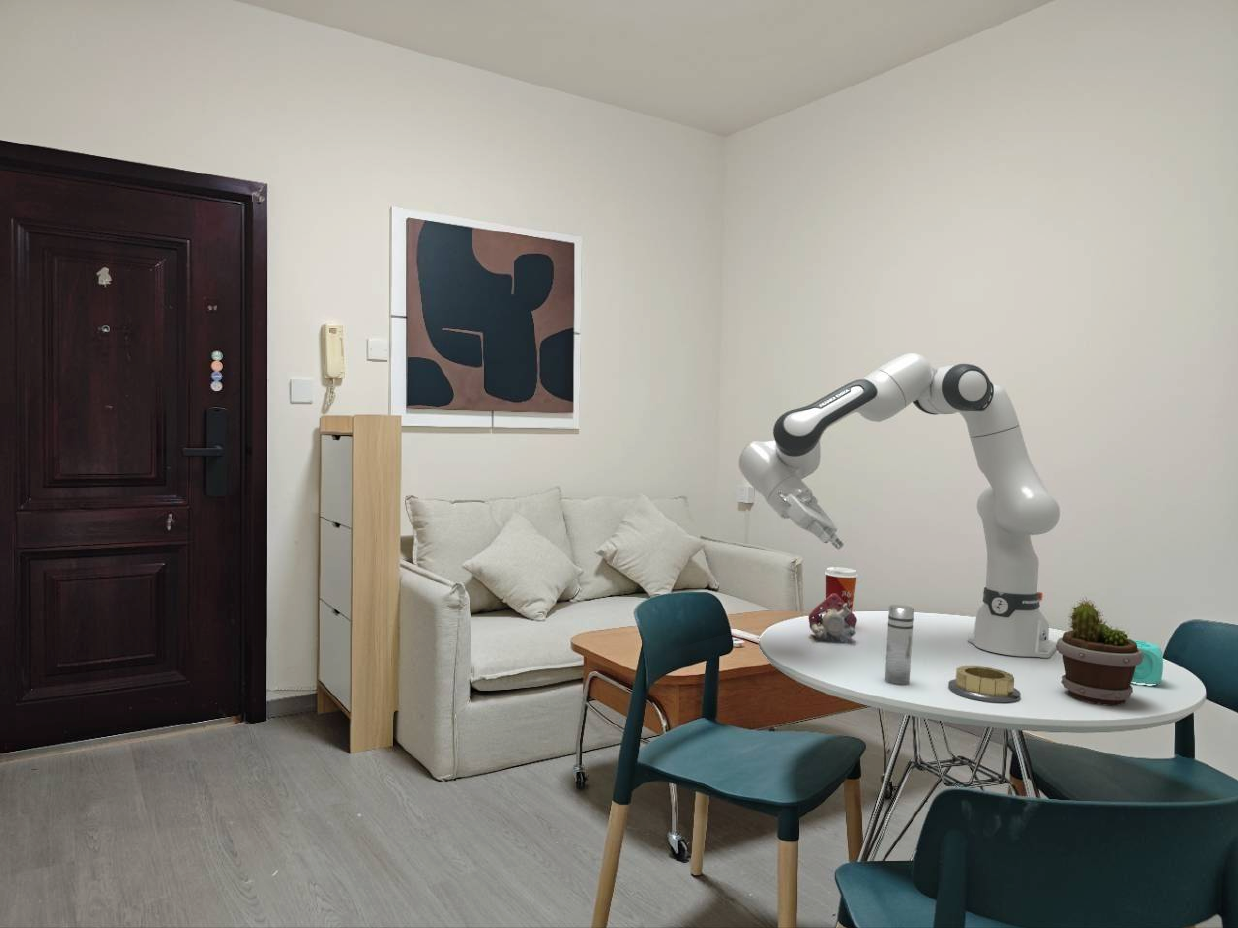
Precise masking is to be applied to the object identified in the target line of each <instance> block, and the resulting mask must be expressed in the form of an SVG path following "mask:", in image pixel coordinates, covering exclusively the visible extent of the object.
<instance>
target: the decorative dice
mask: <svg viewBox="0 0 1238 928" xmlns="http://www.w3.org/2000/svg"><path fill="white" fill-rule="evenodd" d="M1130 639H1131V638H1130ZM1131 640H1133V641H1134V642H1136V644H1137V648H1139V649H1140V650H1141V651H1142V652H1143V655H1144V658H1143V662H1142V663H1141V664H1140V665H1137V666H1136V668H1135V672H1134V676H1133V679H1132V681H1131V682H1136V683H1145V684H1157V683H1158V684H1160V683H1161V680H1162V677H1163V669H1164V658H1163V657H1164V656H1163V652H1162V648H1161V647H1160V646H1159V645H1158V644H1155V643H1153V642H1150V641H1146V640H1140V639H1133V638H1132V639H1131ZM1158 684H1157V685H1158Z"/></svg>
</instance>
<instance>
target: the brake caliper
mask: <svg viewBox="0 0 1238 928" xmlns="http://www.w3.org/2000/svg"><path fill="white" fill-rule="evenodd" d="M833 598H835V599H833ZM826 603H829V604H830V605H829V606H826ZM838 604H841V605H842V606H841V607H838ZM826 611H828V612H827V613H826ZM838 611H839V612H838ZM823 613H825V614H823ZM845 617H846V618H845ZM857 622H858V621H857V617H856V615H855V613H854V612H853V610H852V611H851V610H850V609H849V608H848V607H847V603H844V602H843V601H842V600H841V599H840V597H839V596H838V595H837V594H835V593H833V594H831V595H830V596H829V597H827V598H826V597H825V599H824V600H823V601H822V602H821V603H819V604H818V605H817V606H816V607H814V609H813V610H812V611H811V612H810V613H809V614H808V623H809V625H808V626H809V629H810V630H811V631H812V633H813V634H812V633H811V634H810V635H809V637H808V638H809V639H810V641H811V642H812V643H814V644H816V643H818V640H819V641H820V642H833V643H834V642H838V643H839V642H840V643H848V642H849V641H850V639H852V637H854V636H855V635H856V633H857V632H856V626H857V625H856V624H857ZM817 638H818V639H817Z"/></svg>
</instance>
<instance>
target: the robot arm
mask: <svg viewBox="0 0 1238 928" xmlns="http://www.w3.org/2000/svg"><path fill="white" fill-rule="evenodd" d="M912 403H913V404H914V406H915V407H916V409H918V410H919V411H921V412H923V413H925V414H929V415H934V416H935V415H951V414H957V413H959V414H960V415H961V416H962V417H963V419H964V421H965V423H966V427H967V430H968V434H969V439H970V441H971V446H972V449H973V451H974V452H973V453H974V457H975V460H976V463H977V466H978V469H979V470H980V472H981V473H982V474H983V475H984V477H985V478H986V480H987V482H988V483H989V485H990V487H987V488H985V489H984V490H983V491H982V492H981V493H979V496H978V498H977V500H976V510H977V513H978V515H979V516H980V519H981V521H982V527H983V528H982V529H983V533H984V539H985V546H986V575H985V577H986V578H985V586H984V587H983V591H982V602H983V603H982V605H981V606H980V607H978V608H977V610H976V613H975V614H976V615H975V621H974V627H973V635H970V636H968V637H967V642H969V643H971V644H973V645H974V646H975V647H976V648H978V649H981V650H984V651H987V652H991V653H995V654H1001V655H1005V656H1013V657H1028V658H1029V657H1032V658H1043V659H1049V658H1051V656H1052V655H1053V654H1054V653H1055V652H1056V651H1058V650H1057V647H1056V644H1057V641H1056V642H1055V641H1053V640H1049V634H1050V632H1049V631H1050V625H1049V621H1047V619H1046V617H1045V616H1044V615H1043V614H1042V612H1041V610H1040V609H1039V608H1040V602H1041V601H1042V600H1043V597H1044V595H1043V593H1042V592H1041V591H1038V578H1039V577H1038V576H1039V565H1040V564H1039V563H1040V561H1039V558H1038V555H1037V553H1036V552H1035V549H1034V546H1033V541H1032V536H1038V535H1042V534H1046V533H1049V532H1050V531H1052V530H1054V528H1055V527H1056V526H1057V524H1058V523H1059V520H1060V515H1061V509H1060V506H1059V503H1058V502H1057V499H1055V498H1054V497H1053V495H1051V493H1049V491H1048V490H1047V488H1046V487H1045V485H1044V483H1043V482H1042V480H1041V477H1040V476H1039V474H1038V472H1037V470H1036V469H1035V466H1034V464H1033V463H1032V460H1031V458H1030V455H1029V453H1028V450H1027V447H1026V443H1025V439H1024V436H1023V433H1022V428H1021V425H1020V421H1019V418H1018V416H1017V412H1016V410H1015V407H1014V405H1013V403H1012V401H1011V399H1010V396H1009V394H1008V393H1007V391H1006V389H1005V388H1004V387H1003V386H1001V385H999V384H994V383H993V382H992V381H990V378H989V376H988V374H987V373H986V372H985V370H983V369H982V368H981V367H979V366H976V365H974V364H970V363H959V364H951V365H944V366H941V367H939V368H934V367H933V366H932V365H931V363H930V361H928V359H926V357H925V356H924V355H922V354H919V353H917V352H908V353H905V354H902V355H900V356H898V357H895V358H893V359H891V360H889V361H888V362H886V363H885V364H882V365H881V366H879V367H878V368H876V369H874V371H872V372H871V373H869V374H867V375H866V376H864V377H862V378H860V379H856V380H853V381H851V382H849V383H848V382H847V383H846V384H845V385H843V386H841V387H839V388H838V389H835V390H833V391H832V392H830V393H828V394H827V395H825V396H823V397H820V399H818V400H816V401H813V402H812V403H810V404H807V405H805V406H802V407H798V408H794V409H792V410H789V411H786V412H784V413H783V414H781V415H780V416H779V417H778V418H777V420H776V421H775V423H774V425H773V429H772V435H773V438H774V440H767V441H760V440H754V441H751V442H750V443H748V444H747V445H746V446H745V447H744V448H743V450H742V452H741V454H740V455H739V457H738V469H739V471H740V472H741V474H742V475H743V477H744V478H745V480H746V481H747V482H748V483H749V484H750V485H751V487H752V488H753V489H754V490H755V491H756V492H757V493H759V494H760V495H762V496H763V497H764V498H765V501H766V503H767V504H768V505H769V506H770V507H771V508H772V509H773V510H774V511H775V512H776V513H777V514H778V516H779V517H780V518H781V519H783V520H786V519H790V520H791V521H792V522H793V523H794V524H795V525H797V527H798V528H800V529H802V530H804V531H807V532H810V533H811V534H813V535H814V536H815V537H817V538H818V539H819V540H820V541H821V543H823V544H828V543H829V542H830V544H832V546H833V547H834V548H835V549H837V550H841V549H842V548H843V547H844V545H845V544H844V542H843V541H842V540H841V539H840V538H839V536H838V535H837V532H838V528H837V526H836V524H835V523H834V522H833V521H832V519H831V518H830V517H829V516H828V514H827V513H826V512H825V511H824V510H823V508H822V507H821V505H819V504H818V503H819V500H818V499H817V498H816V496H814V494H813V491H812V490H811V488H809V487H808V486H807V485H806V484H805V482H803V479H804V478H806V477H808V476H810V475H812V474H813V473H814V472H815V471H816V470H817V469H818V467H820V462H821V455H822V454H821V451H822V450H821V439H822V437H823V434H824V433H825V431H826V430H827V429H828V428H830V427H832V426H833V425H835V424H837V423H839V422H840V421H842V420H844V419H845V418H847V417H849V416H851V415H852V414H855V413H858V414H859V415H860V416H861V417H862V418H864V419H865V420H867V421H871V422H877V423H880V422H883V421H886V420H889V419H891V418H892V417H894V416H896V415H897V414H899V413H900V412H901V411H902V410H904V409H906V408H907V407H909V406H910V405H911V404H912Z"/></svg>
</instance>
